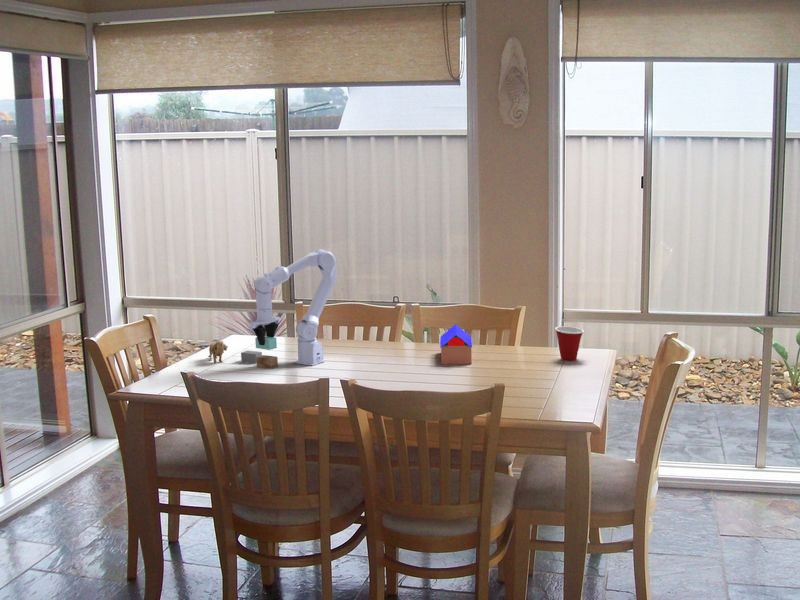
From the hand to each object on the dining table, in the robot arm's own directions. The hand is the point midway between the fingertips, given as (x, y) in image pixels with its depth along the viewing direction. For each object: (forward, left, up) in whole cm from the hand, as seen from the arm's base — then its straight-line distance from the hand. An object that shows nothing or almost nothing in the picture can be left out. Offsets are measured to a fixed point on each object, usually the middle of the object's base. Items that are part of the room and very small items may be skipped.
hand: (266, 343), depth 338 cm
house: (-55, -47, -9) cm, 73 cm away
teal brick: (0, 0, -2) cm, 2 cm away
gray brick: (+11, -3, -9) cm, 15 cm away
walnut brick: (0, 0, -9) cm, 9 cm away
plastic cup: (-94, -66, -9) cm, 115 cm away
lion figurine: (+24, +3, -9) cm, 26 cm away
